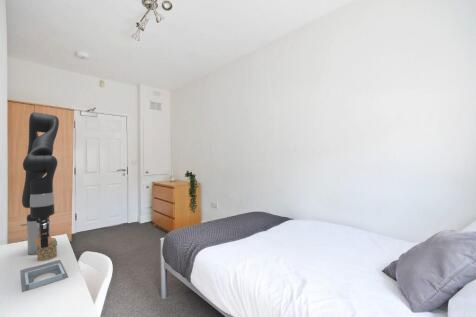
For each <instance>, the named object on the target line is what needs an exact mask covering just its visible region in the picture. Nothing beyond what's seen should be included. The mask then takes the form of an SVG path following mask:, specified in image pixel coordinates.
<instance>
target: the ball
mask: <svg viewBox="0 0 476 317" xmlns="http://www.w3.org/2000/svg"><path fill="white" fill-rule="evenodd" d="M45 234H46V233H43V234H42V235H45ZM51 238H52V236H51V234H50V235H49V237H48V244H49V243H50V241H51ZM35 242H36V244H37V245H38V246H41V239H40V235H39V236H38V237H37V238H36V240H35Z"/></svg>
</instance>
